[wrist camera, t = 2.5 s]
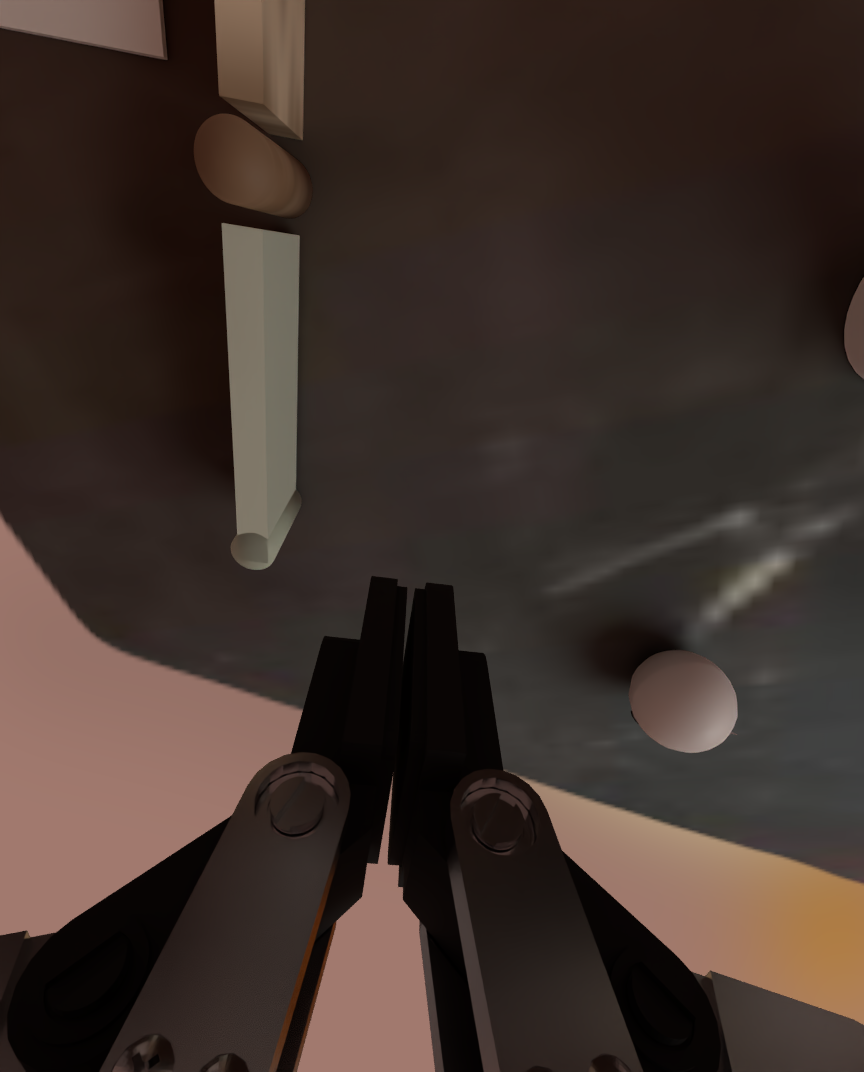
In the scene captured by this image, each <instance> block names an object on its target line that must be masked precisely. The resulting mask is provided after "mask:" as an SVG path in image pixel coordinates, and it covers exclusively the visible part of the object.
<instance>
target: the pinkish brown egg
mask: <svg viewBox="0 0 864 1072" xmlns="http://www.w3.org/2000/svg"><path fill="white" fill-rule="evenodd" d="M628 696H629V700H630V704H631V708H632V711H631V714H632V717H633V718H634V720H635V721H636V722H637V723H638V724H639V725H640V726H641V728H642V729H643V730H644V731H645V732H646V734H647V735H648V736H649V737H651V738H652V739H654V740H655V741H656V742H658V743H659V744H661V745H663V746H665V747H667V748H669V749H673V750H677V751H682V752H687V753H695V752H702V751H706V750H709V749H711V748H714V747H716V746H718V745H719V744H720V743H722V742H723V741H724V740H725V739H726V738H727V737H728V736H729V734H730V733H731V731H732V729H733V727H734V725H735V722H736V719H737V698H736V693H735V691H734V689H733V687H732V684H731V682H730V681H729V679H728V678H727V676H726V675H725V674H724V672H723V671H722V670H721V669H720V668H719V667H717V666H716V665H715V664H714V663H713V662H711V661H710V660H708V659H706V658H704V657H702V656H700V655H698V654H696V653H693V652H689V651H684V650H671V651H663V652H660V653H656V654H654V655H652V656H650V657H648V658H647V659H646V660H645V661H644V662H643V663H642V664H641V665H639V666H638V667H637V669H636V671H635V672H634V674H633V675H632V679H631V685H630V690H629V695H628ZM732 734H735V733H732ZM735 735H737V734H735Z"/></svg>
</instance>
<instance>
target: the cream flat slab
mask: <svg viewBox="0 0 864 1072" xmlns="http://www.w3.org/2000/svg"><path fill="white" fill-rule="evenodd" d="M299 240H300V236H299V235H293V234H288V233H282V232H276V231H270V230H264V229H257V228H251V227H245V226H238V225H232V224H226V223H222V241H223V260H224V280H225V300H226V319H227V339H228V359H229V378H230V398H231V418H232V437H233V457H234V477H235V496H236V516H237V535H236V537H235V538H234V539H233V541H232V543H231V553H232V555H233V557H234V559H235V560H236V561H237V562H238V563H239V564H240V565H242V566H244V567H246V568H248V569H253V570H261V569H265V568H267V567H269V566H270V565H271V564H272V563H273V561H274V559H275V557H276V555H277V553H278V551H279V549H280V547H281V545H282V543H283V541H284V539H285V537H286V535H287V533H288V531H289V529H290V527H291V525H292V523H293V521H294V519H295V517H296V515H297V513H298V511H299V509H300V507H301V504H302V499H301V496H300V494H299V492H298V491H297V490H296V444H297V376H298V308H299Z"/></svg>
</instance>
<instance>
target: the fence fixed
mask: <svg viewBox="0 0 864 1072" xmlns="http://www.w3.org/2000/svg"><path fill="white" fill-rule="evenodd" d="M214 1H215V22H216V43H217V64H218V85H219V96H220V97H221V98H223V99H224V100H225V101H227V102H228V103H229V104H231V105H232V106H233V107H234V108H236V109H237V110H238V111H240V112H241V113H242V114H244V115H245V116H246V117H247V118H249V119H250V120H251V121H253V122H254V123H255V124H257V125H258V126H259V127H260V128H262V129H263V130H264V131H266V132H267V133H268V134H271V135H276V136H281V137H287V138H292V139H297V140H303V98H304V36H305V0H214ZM194 159H195V164H196V168H197V171H198V173H199V175H200V177H201V179H202V181H203V183H204V184H205V185H206V187H207V188H208V189H209V190H210V192H212V193H213V194H214V195H215V196H216V197H218V198H219V199H221V200H222V201H224V202H227V203H230V204H233V205H237V206H241V207H245V208H249V209H252V210H256V211H260V212H264V213H268V214H272V215H275V216H279V217H283V218H289V219H290V218H296V217H299V216H300V215H302V214H303V213H304V212H305V211H306V210H307V209H308V207H309V205H310V203H311V200H312V194H313V187H312V182H311V178H310V175H309V173H308V171H307V170H306V168H305V167H304V165H303V164H302V163H301V162H300V161H299V160H297V159H296V158H295V157H293V156H292V155H291V154H289V153H288V152H287V151H285V150H284V149H283V148H281V147H280V146H278V145H277V144H276V143H274V142H273V141H272V140H270V139H269V138H268V137H266V136H265V135H264V134H262V133H261V132H260V131H258V130H257V129H256V128H254V127H253V126H251V125H250V124H249V123H247V122H246V121H245V120H243V119H241V118H240V117H237V116H235V115H231V114H217V115H214V116H211V117H210V118H208V119H207V120H206V121H205V122H204V123H203V124H202V125H201V126H200V128H199V130H198V132H197V134H196V137H195V142H194Z"/></svg>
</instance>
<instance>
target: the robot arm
mask: <svg viewBox="0 0 864 1072" xmlns="http://www.w3.org/2000/svg"><path fill="white" fill-rule="evenodd" d="M397 582H398V579H392V578H384V577H375V576H372V577H371V582H370V587H369V593H368V598H367V604H366V610H365V615H364V621H363V627H362V632H361V638H360V640H356V639H347V638H338V637H329V636H324V638H323V641H322V644H321V648H320V651H319V655H318V658H317V662H316V665H315V669H314V673H313V676H312V680H311V683H310V687H309V691H308V694H307V698H306V701H305V705H304V709H303V712H302V716H301V719H300V723H299V727H298V730H297V734H296V737H295V741H294V745H293V748H292V752H291V754H288V755H284V756H282V757H280V758H277V759H275V760H273V761H271V762H269V763H268V764H267V765H265V766H264V767H263V768H262V769H261V770H259V771H258V772H257V773H256V775H255V776H254V777H253V779H252V780H251V781H250V783H249V784H248V786H247V788H246V790H245V792H244V794H243V795H242V797H241V799H240V801H239V803H238V805H237V807H236V809H235V811H234V813H233V815H232V816H230V817H229V818H227V819H226V820H224V821H223V822H221V823H220V824H218V825H217V826H215V827H213V828H212V829H210V830H209V831H207V832H206V833H205V834H203V835H201V836H200V837H198V838H197V839H195V840H194V841H192V842H191V843H189V844H187V845H186V846H184V847H183V848H181V849H180V850H178V851H177V852H175V853H174V854H172V855H171V856H169V857H168V858H166V859H165V860H163V861H161V862H160V863H158V864H157V865H156V866H154V867H152V868H151V869H149V870H148V871H146V872H145V873H143V874H142V875H140V876H139V877H137V878H135V879H134V880H132V881H131V882H129V883H128V884H126V885H125V886H123V887H122V888H120V889H119V890H117V891H116V892H114V893H113V894H111V895H109V896H108V897H106V898H105V899H103V900H102V901H101V902H99V903H97V904H96V905H94V906H93V907H91V908H90V909H88V910H87V911H85V912H83V913H82V914H81V915H79V916H77V917H76V918H74V919H73V920H72V921H70V922H69V923H68V924H67V925H65V926H64V927H63V928H61V929H60V930H59V931H58V932H56V933H51V934H47V935H41V936H36V937H30V936H29V933H28V931H22V932H17V933H11V934H6V935H1V936H0V1072H297V1069H298V1065H299V1062H300V1058H301V1054H302V1050H303V1047H304V1043H305V1039H306V1036H307V1031H308V1028H309V1024H310V1021H311V1017H312V1013H313V1010H314V1006H315V1002H316V998H317V995H318V991H319V987H320V983H321V980H322V976H323V972H324V969H325V965H326V961H327V957H328V954H329V950H330V946H331V942H332V939H333V935H334V931H335V928H336V921H337V920H338V919H339V918H340V917H341V916H342V915H343V914H344V913H345V912H346V911H347V910H348V909H349V908H350V907H352V905H354V904H355V903H356V902H357V901H358V900H359V899H360V898H361V897H362V893H363V886H364V880H365V873H366V867H367V863H373V864H374V863H375V864H378V859H379V852H380V847H381V841H382V835H383V830H384V824H385V818H386V812H387V806H388V800H389V794H390V788H391V783H392V777H393V786H392V800H391V816H390V831H389V847H388V864H389V865H399V881H398V887H403V900H404V902H405V903H406V904H407V905H408V907H409V908H410V909H411V910H412V912H413V913H414V914H415V915H416V917H417V918H418V919H419V920H420V925H419V927H420V928H419V931H420V932H419V933H420V942H421V951H422V959H423V968H424V977H425V986H426V994H427V1002H428V1012H429V1021H430V1030H431V1038H432V1046H433V1056H434V1065H435V1072H864V1025H863V1024H861V1023H859V1022H857V1021H855V1020H853V1019H850V1018H847V1017H844V1016H842V1015H838V1014H836V1013H833V1012H830V1011H827V1010H824V1009H821V1008H818V1007H815V1006H812V1005H809V1004H806V1003H804V1002H800V1001H798V1000H795V999H792V998H789V997H786V996H783V995H780V994H777V993H774V992H771V991H768V990H765V989H762V988H759V987H757V986H754V985H751V984H748V983H745V982H742V981H739V980H736V979H733V978H730V977H727V976H724V975H721V974H718V973H716V972H712V971H709V972H708V974H707V975H706V976H702V975H700V974H696V973H693V972H691V971H690V970H689V969H688V968H687V967H686V965H684V963H683V962H682V961H681V960H680V959H679V958H678V957H677V956H676V955H675V954H674V953H673V952H672V951H671V950H670V949H669V948H668V947H667V946H665V945H664V944H663V943H662V942H661V941H660V940H659V939H658V938H657V937H656V936H655V935H653V934H652V933H651V932H650V931H649V930H648V929H647V928H646V927H645V926H644V925H643V924H641V923H640V922H639V921H638V920H637V919H636V918H635V917H634V916H633V915H632V914H631V913H629V912H628V911H627V910H626V909H625V908H624V907H623V906H622V905H621V904H620V903H619V902H617V901H616V900H615V899H614V898H613V897H612V896H611V895H610V894H609V893H607V891H606V890H604V889H603V888H602V887H601V886H600V885H599V884H598V883H597V882H596V881H595V880H593V879H592V878H591V877H590V876H589V875H588V874H587V873H586V872H585V871H584V870H583V869H582V868H580V867H579V866H578V865H577V864H576V863H575V862H574V861H573V860H572V859H571V858H570V857H568V856H567V855H566V854H565V853H564V852H563V851H562V850H561V847H560V844H559V842H558V839H557V836H556V833H555V831H554V828H553V826H552V823H551V820H550V817H549V814H548V812H547V809H546V808H545V806H544V804H543V802H542V800H541V798H540V796H539V795H538V794H537V793H536V792H535V791H534V790H533V789H532V787H530V785H529V784H528V783H526V782H525V781H523V780H522V779H520V778H519V777H517V776H516V775H513V774H511V773H508V772H505V771H503V765H502V759H501V752H500V745H499V739H498V732H497V726H496V719H495V713H494V706H493V699H492V693H491V686H490V680H489V673H488V667H487V661H486V656H485V655H484V653H477V652H468V651H459V650H458V640H457V628H456V616H455V604H454V592H453V586H452V585H443V584H435V583H426V586H425V589H417V588H415V592H414V598H413V605H412V611H411V617H410V623H409V630H408V636H407V642H406V649H405V655H404V661H403V651H404V634H405V618H406V601H407V587H400V586H397Z"/></svg>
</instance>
